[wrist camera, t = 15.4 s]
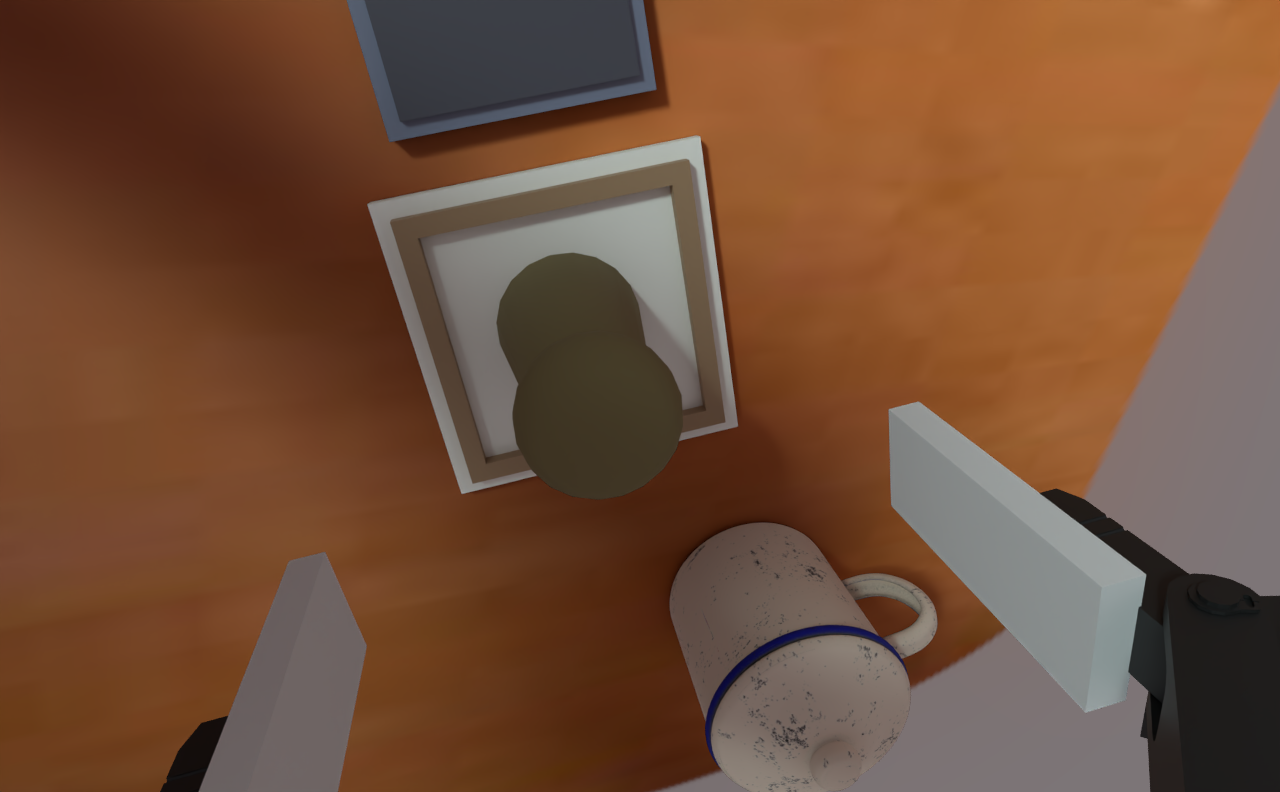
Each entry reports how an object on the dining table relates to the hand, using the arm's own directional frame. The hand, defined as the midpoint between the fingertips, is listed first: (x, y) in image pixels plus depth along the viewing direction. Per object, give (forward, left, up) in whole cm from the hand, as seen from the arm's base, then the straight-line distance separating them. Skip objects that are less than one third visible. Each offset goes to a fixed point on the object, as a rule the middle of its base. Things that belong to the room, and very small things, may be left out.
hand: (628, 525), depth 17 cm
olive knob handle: (0, 0, -16) cm, 16 cm away
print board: (0, 0, -16) cm, 16 cm away
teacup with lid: (+17, +8, -16) cm, 24 cm away
